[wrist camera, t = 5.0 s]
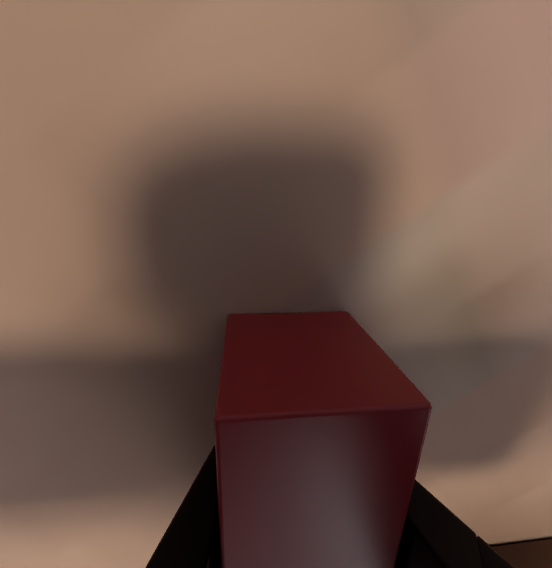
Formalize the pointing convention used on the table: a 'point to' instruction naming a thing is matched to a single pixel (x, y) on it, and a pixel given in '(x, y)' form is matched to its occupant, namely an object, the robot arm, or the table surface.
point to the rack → (527, 554)
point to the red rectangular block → (313, 444)
